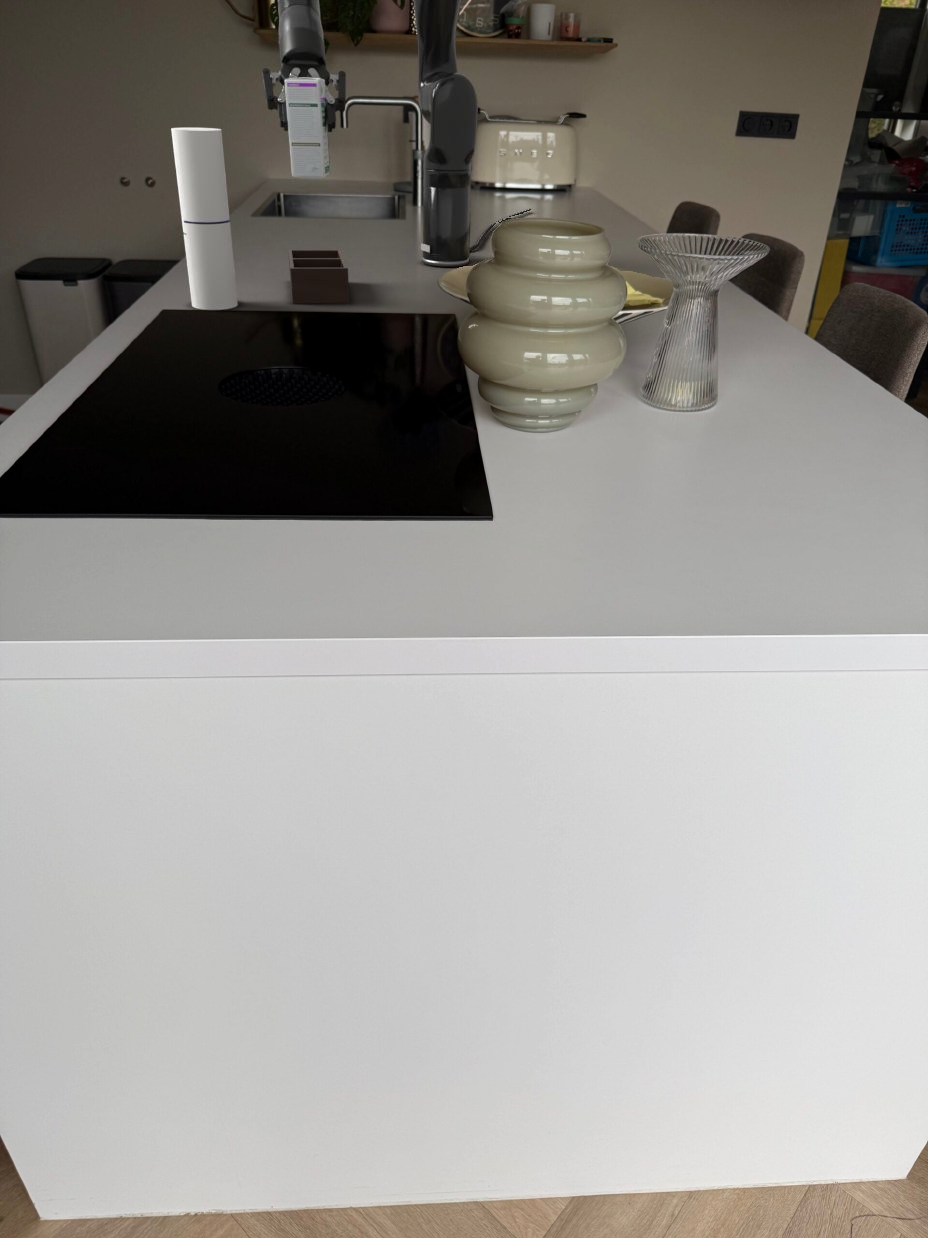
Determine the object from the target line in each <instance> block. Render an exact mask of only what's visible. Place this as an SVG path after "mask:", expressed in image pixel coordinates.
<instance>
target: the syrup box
mask: <svg viewBox="0 0 928 1238" xmlns="http://www.w3.org/2000/svg"><path fill="white" fill-rule="evenodd" d="M285 91H286V105H287V119H288V131H287V132H288V142H289V143H288V144H289V145H288V146H289V157H290V169H291V170H290V171H291V178H292V177H293V178H298V179H299V178H300V179H326V177H328V176H330V175H331V165H330V146H329V144H330V143H329V132H328V127H327V114H326V100H325V80H324V79H321V78H310V77H302V78H289V79H285Z"/></svg>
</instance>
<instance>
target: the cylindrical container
mask: <svg viewBox="0 0 928 1238" xmlns="http://www.w3.org/2000/svg"><path fill="white" fill-rule="evenodd" d="M170 131H171V138H172V148H173V156H174V164H175V165H174V166H175V172H176V182H177V189H178V190H177V191H178V198H179V199H178V200H179V207H180V215H181V225H182V232H183V242H184V251H185V258H186V267H187V275H188V283H189V291H190V300H191V306H192V308H195V309H197V310H198V309H199V310H202V311H203V310H204V311H205V310H206V311H222V310H229V309H233V308H236V307H238V305H239V304H238V295H237V293H238V292H237V283H236V282H237V281H236V273H235V272H236V271H235V261H234V260H235V259H234V250H233V239H232V238H233V237H232V230H231V229H232V228H231V221H230V218H231V217H230V208H229V207H230V206H229V198H228V197H229V195H228V186H227V176H226V164H225V154H224V143H223V134H222V129H221V128H216V127H215V128H214V127H172V128H171V129H170Z"/></svg>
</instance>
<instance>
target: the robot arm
mask: <svg viewBox="0 0 928 1238" xmlns="http://www.w3.org/2000/svg"><path fill="white" fill-rule="evenodd" d="M276 1H277V11H278V22H279V23H278V48H279V58H280V59H279V61H280V68H279V69H278V71H275V72H274V71H273V72H270V71H271V70H270V69H269V68H267V67H265V68H262V83H263V91H264V96H265V102H266V108H267V109H268V110H270V111H273V110H276V111H277V112H278V122H279V123H278V125H279V127H280V128H283V131H284V132H288V119H287V105H286V91H285V79H289V78H302V77H310V78H321V79H324V80H325V100H326V114H327V127H328V133H333V130H335V129H336V128H337V115H336V113H337V112H340V113H344V112H345V111H346V100H347V99H346V95H347V92H346V91H347V90H346V86H347V85H346V84H347V73H346V72H345V71H344V70H340V71H338V74H335V73H330V72H329V70H328V68H327V62H326V61H327V59H326V48H325V45H326V44H325V40H324V39H325V36H324V35H325V34H324V30H323V25H322V19H321V7H320V6H321V5H320V0H276ZM461 5H462V0H413V7H414V19H415V26H416V36H417V37H416V38H417V55H418V56H417V57H418V58H417V59H418V63H417V64H418V65H417V66H418V67H417V70H418V71H417V100H418V106H419V110H420V113H421V115H422V117H423V118H424V120H425V121H426V122H427V123H428V124H429V125H430V132H429V133H430V134H429V143H428V146H427V148H426V150H425V151H424V152H423V156H422V157H423V159H422V160H423V161H422V163H423V164H422V165H423V166H422V167H423V168H422V169H423V173H422V174H423V175H422V176H423V179H422V197H423V198H422V201H423V202H422V243H421V242H420V250H421V251H422V257H421V259H422V260H421V262H422V263H423V264H424V265H426V266H431V267H442V268H443V267H445V268H450V267H451V268H453V267H463V265H464V266H467V265H469V264H468V263H470V257H471V252H473V251H475V250H476V249H478V248H479V247H480V245H481V243H482V242H483V240H484V238H485V237H486V236H487V234H488V233H489V232H490V231H491V230H492V229H493V228H494V227H493V226H494V225H495V224H496V223H495V222H497V221H498V222H499V220H501V219H502V221H504V220H503V218H501V219H498V220H497V221H495V222H493V223H494V224H493V223H492V224H493V225H492V224H490V225H491V226H490V225H489V226H490V227H489V226H488V227H489V228H488V227H487V228H488V229H487V228H486V229H487V230H486V229H485V230H486V231H485V230H484V231H485V233H484V231H483V232H482V233H481V235H480V236H479V237H478V239H477V240H476V243H475V244H476V245H475V244H474V245H472V246H471V227H472V226H471V223H472V213H471V180H472V178H471V177H472V160H473V157H474V155H475V150H476V144H477V131H478V130H477V129H478V116H479V115H478V114H479V113H478V112H479V104H478V103H479V102H478V94H477V90H476V87H475V86H474V83H473V82H472V81H471V79H470V78H469V77H467V76H466V75H465V74H462V73H459V68H458V61H457V60H458V59H457V49H456V38H457V37H456V36H457V28H458V22H459V16H460V11H461ZM278 82H279V83H280V85H282V90H281V92H280V94H279V95H278V96H276V95H274V89H275V87H276V86H277V83H278ZM330 84H332V86H333V88H334V89H335V91H337V93H338V94H337V97H335V98H334V96H333V95H332V94H331V92H330V91H329V88H328V87H329V85H330ZM528 209H529V210H528ZM528 209H525V210H526V211H525V210H522V211H523V212H522V211H520V213H519V212H516V213H517V214H516V213H514V215H513V214H510V215H508V216H509V217H511V215H512V216H515V215H519V214H523V213H524V212H527V211H530V210H531V209H532V208H528ZM523 215H524V214H523ZM515 218H516V217H514V218H506V219H505V220H507V221H509V220H512V219H515ZM508 219H509V220H508ZM502 221H501V222H502ZM501 222H499V223H500V224H502V223H503V222H502V223H501ZM504 222H505V221H504ZM492 227H493V228H492ZM491 228H492V229H491ZM490 229H491V230H490ZM483 233H484V234H483ZM482 234H483V236H482ZM481 236H482V237H481ZM480 237H481V239H480ZM479 239H480V240H479ZM478 240H479V242H478ZM481 241H482V242H481ZM477 242H478V244H477ZM478 246H479V247H478ZM477 247H478V248H477ZM472 250H473V251H472ZM470 251H471V252H470ZM469 256H470V257H469ZM468 258H469V260H468ZM466 264H467V265H466Z"/></svg>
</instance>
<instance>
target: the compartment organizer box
mask: <svg viewBox="0 0 928 1238" xmlns="http://www.w3.org/2000/svg"><path fill="white" fill-rule="evenodd" d="M288 267H289V282H290V291H291V300H292V305H303V304H304V305H305V304H306V305H307V304H308V305H309V304H311V305H312V304H313V305H314V304H315V305H316V304H350V289H349V288H350V286H349V268H348V266H347V263H346V261H345V257H344V255H343V252H342V250H341V249H288Z"/></svg>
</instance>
